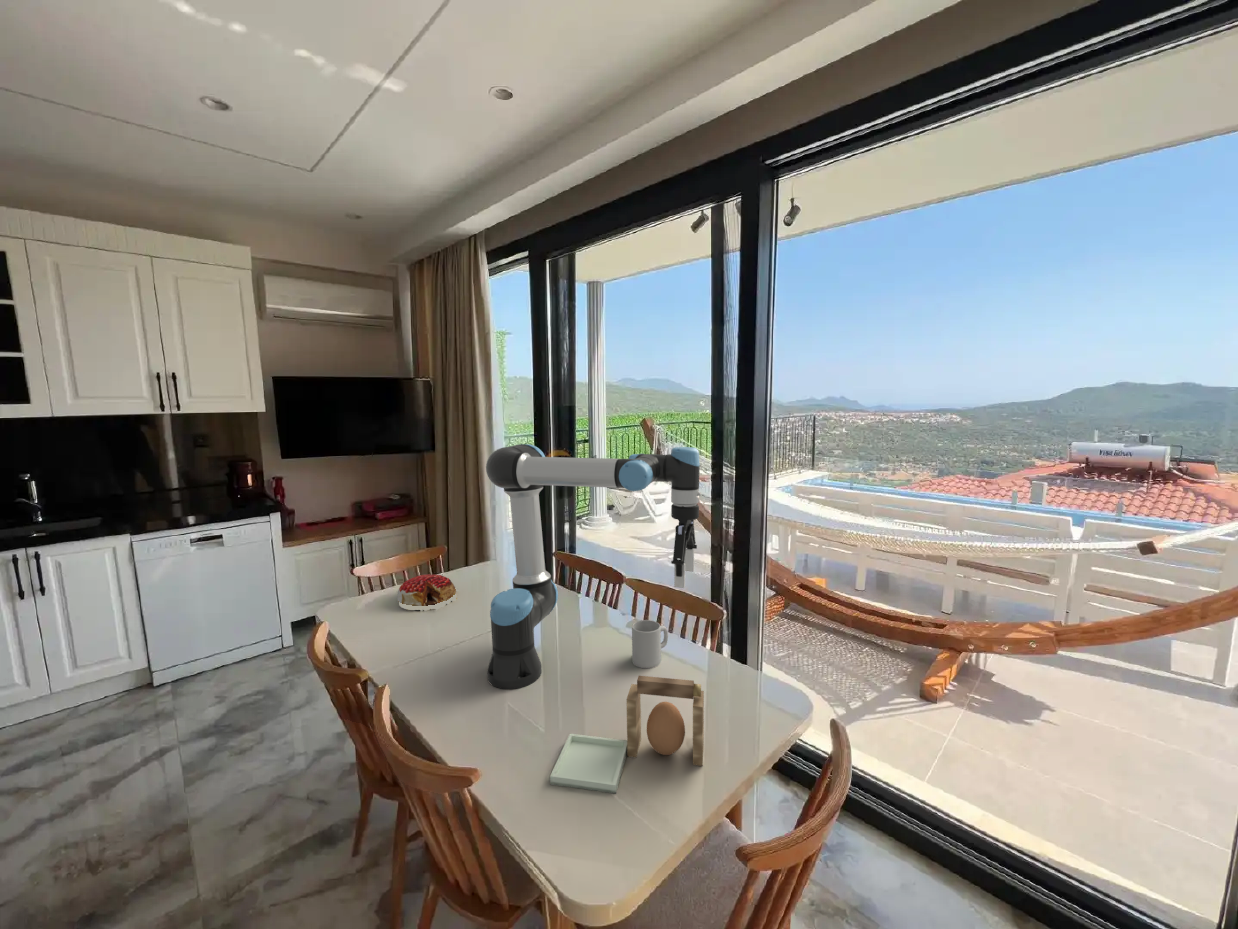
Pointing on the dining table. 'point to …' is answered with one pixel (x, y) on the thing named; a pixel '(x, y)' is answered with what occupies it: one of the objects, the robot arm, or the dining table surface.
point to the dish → (590, 763)
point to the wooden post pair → (635, 725)
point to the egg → (665, 728)
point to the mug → (647, 643)
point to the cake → (426, 590)
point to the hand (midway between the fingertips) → (684, 579)
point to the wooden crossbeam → (668, 687)
